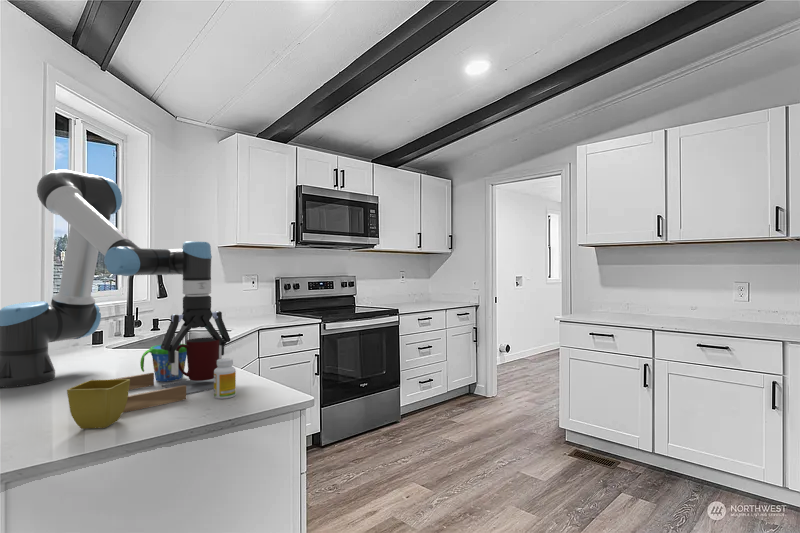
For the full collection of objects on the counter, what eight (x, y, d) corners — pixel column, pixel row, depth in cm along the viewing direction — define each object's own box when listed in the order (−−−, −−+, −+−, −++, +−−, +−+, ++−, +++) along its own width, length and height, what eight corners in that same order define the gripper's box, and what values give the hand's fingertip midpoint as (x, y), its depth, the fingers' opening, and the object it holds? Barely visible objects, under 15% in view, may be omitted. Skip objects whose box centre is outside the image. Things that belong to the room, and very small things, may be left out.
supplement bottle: (239, 394, 124) (240, 358, 124) (226, 400, 119) (226, 362, 119) (223, 392, 126) (223, 357, 126) (209, 398, 121) (209, 360, 121)
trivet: (161, 386, 132) (161, 385, 132) (209, 377, 143) (209, 376, 143) (183, 395, 123) (183, 394, 123) (232, 385, 133) (232, 384, 133)
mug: (183, 385, 125) (183, 344, 125) (169, 380, 131) (169, 341, 131) (224, 377, 134) (224, 339, 134) (210, 372, 140) (210, 336, 140)
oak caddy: (80, 397, 121) (80, 384, 121) (152, 384, 134) (152, 372, 134) (108, 415, 106) (108, 400, 106) (186, 399, 119) (186, 385, 119)
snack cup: (194, 372, 149) (194, 341, 149) (200, 379, 141) (200, 346, 141) (138, 379, 141) (138, 346, 141) (141, 386, 132) (141, 351, 132)
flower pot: (90, 419, 104) (90, 379, 104) (131, 418, 105) (131, 378, 105) (65, 433, 95) (65, 389, 95) (110, 431, 96) (110, 388, 96)
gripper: (158, 298, 121) (158, 380, 121) (242, 293, 139) (242, 365, 139) (147, 296, 126) (147, 375, 126) (229, 292, 144) (229, 362, 144)
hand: (197, 370), depth 133 cm, fingers closed on mug, 12 cm apart
